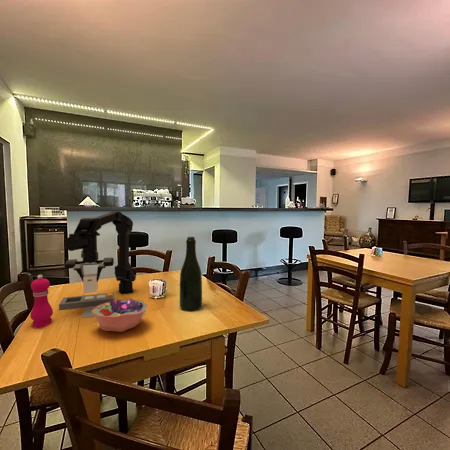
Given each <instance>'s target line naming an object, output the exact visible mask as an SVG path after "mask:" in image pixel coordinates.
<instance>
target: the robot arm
mask: <svg viewBox="0 0 450 450" xmlns="http://www.w3.org/2000/svg"><path fill="white" fill-rule="evenodd" d="M109 223H111V224H112V225H114V226H115V231H116V233H117V235H118V264H117V265H115V266H114V264H115V261H114V260H115V259H114V258H113V257H112V256H111V257H104V258H103V259H99V252H98V236H101V234H100V232H98V231H99V230H100V229H102V226H105V225H107V224H109ZM133 225H134V222H133V220H132V219H131V218H130V217H128V216H127V215H125V214H123V213H122V211H117V210H116V211H115V210H113V211H112V210H111V211H110V212H108V213H104V214H101V215H98V216H95V217H82V218H80V220H79V222H78V224H77V225H76V228H75V230H74V232H73V233H69V234H68V237H66V239H65V242H64V247H65V249H66V250H68V251H70V252H73V251H78V250H81V252H80V258H82V260H78V259H76V258H75V259H74V258H73V259H67V261H65V262H64V264H63V265H64V270H65V269H66V270H68V269H73V271H76V273H77V275H78V276H79V278H80V279H81V281H82V282H83V277H84V275H85V271H84V266H93V265H94V266H95V265H98V266H97V270H96V273H97V282H98V283H99V279H100V276H101V273H102V271H103V269H105V268H106V267H112V266H114V276H115V279H116V281H117V282H119V283H118V292H119V294H121V295H123V294H129V293H131V294H132V293H134V289H133V288H134V287H133V282H135V281H136V280H137V275H136V274H135V272H134V271H133V267H132V264H131V263H130V234H131V232H132V231H133Z"/></svg>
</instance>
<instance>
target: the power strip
mask: <svg viewBox="0 0 450 450" xmlns="http://www.w3.org/2000/svg"><path fill="white" fill-rule="evenodd" d="M110 301H115V292H107V293H105V292H104V293H96V294H85V295H75V296H67V297H66V296H64V297H63V298H62V299H61V301H60V302H59V304H58V310H59V311H64V310H72V309H80V308H81V309H82V308H86V307H95V306H99V305H101V304H104V303H108V302H110Z"/></svg>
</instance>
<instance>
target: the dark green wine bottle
mask: <svg viewBox="0 0 450 450" xmlns="http://www.w3.org/2000/svg"><path fill="white" fill-rule="evenodd" d="M196 243H197V240H196V238H195V236H187V239H186V241H185V244H186V246H185V247H186V249H185V258H184V261H183V264H182V266H181V268H180V273H179V274H180V275H179V309H181V310H182V311H187V312H192V311H193V312H195V311H198V310H199V309H201V308H202V307H203V277H202V269H201V266H200V263H199V261H198V258H197V251H196V249H197V248H196V247H197V246H196Z"/></svg>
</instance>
